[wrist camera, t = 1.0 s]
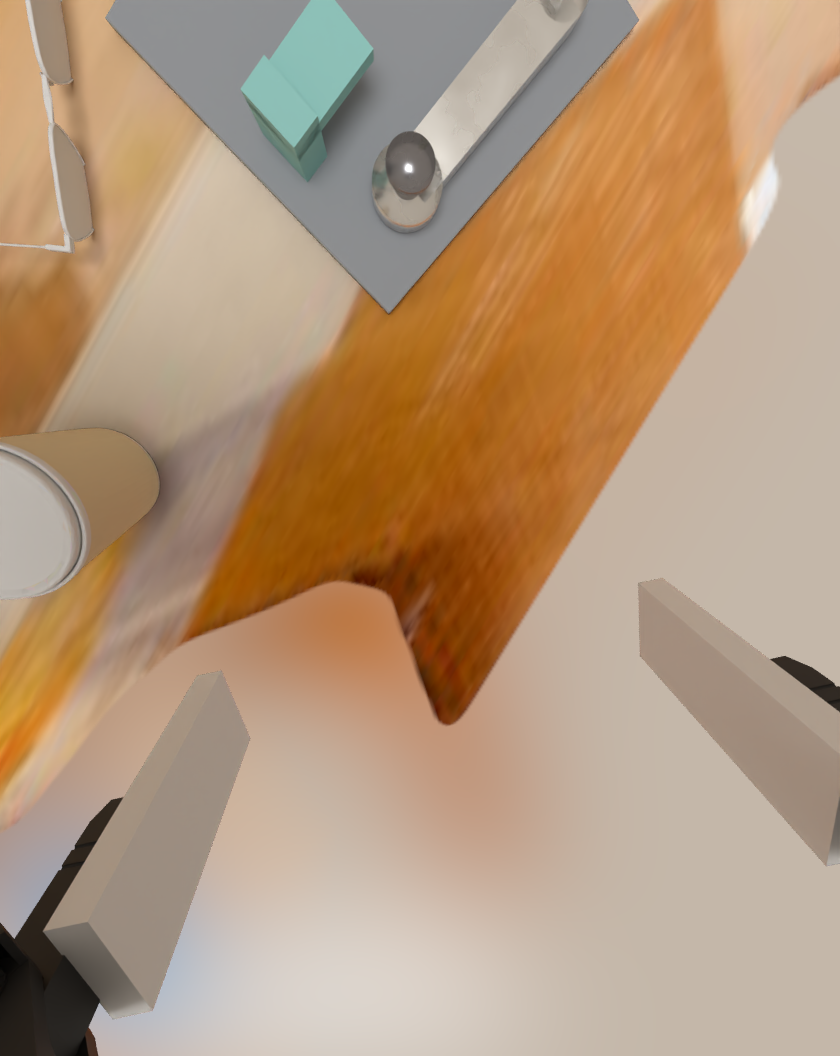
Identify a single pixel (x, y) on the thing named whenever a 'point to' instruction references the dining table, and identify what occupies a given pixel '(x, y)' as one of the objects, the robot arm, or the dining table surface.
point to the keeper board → (355, 104)
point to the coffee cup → (67, 503)
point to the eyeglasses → (63, 153)
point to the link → (467, 111)
